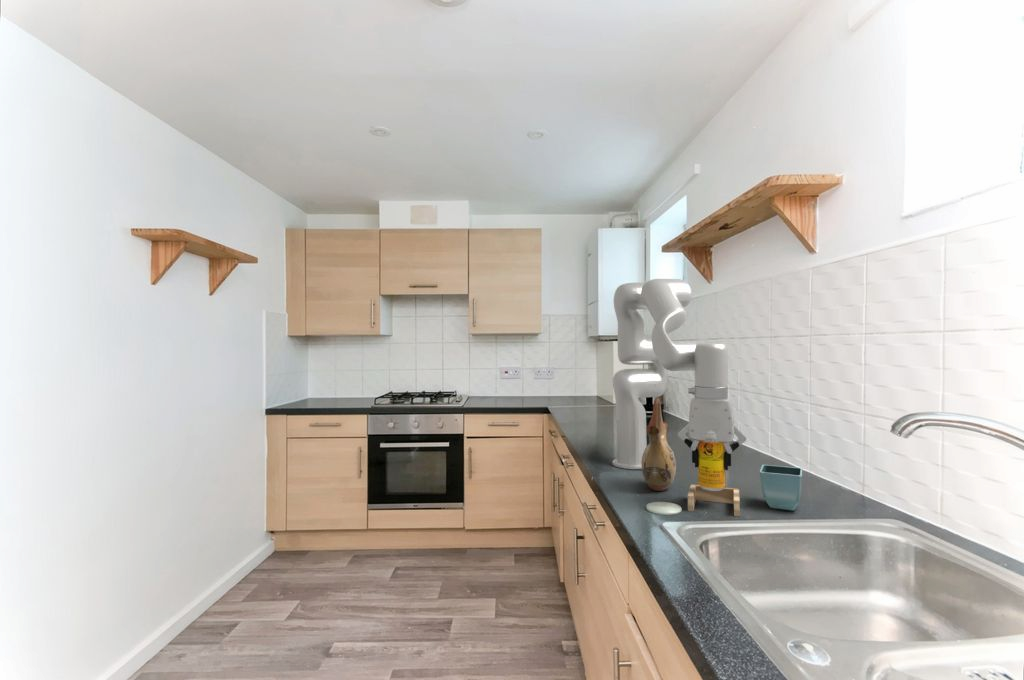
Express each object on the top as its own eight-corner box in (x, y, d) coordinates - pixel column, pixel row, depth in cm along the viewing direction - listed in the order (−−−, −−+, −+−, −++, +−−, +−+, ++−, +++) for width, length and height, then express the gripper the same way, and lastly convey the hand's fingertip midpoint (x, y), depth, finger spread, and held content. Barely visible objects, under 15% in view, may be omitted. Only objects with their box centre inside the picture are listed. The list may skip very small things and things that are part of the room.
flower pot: (763, 499, 126) (762, 463, 126) (803, 504, 121) (802, 467, 121) (760, 509, 118) (759, 471, 118) (803, 515, 113) (802, 475, 114)
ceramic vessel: (671, 499, 127) (669, 401, 127) (636, 495, 131) (634, 400, 131) (680, 482, 142) (678, 395, 142) (647, 479, 146) (646, 394, 146)
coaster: (649, 502, 124) (649, 500, 124) (682, 506, 121) (682, 503, 121) (644, 512, 117) (644, 510, 117) (679, 516, 114) (679, 514, 114)
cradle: (691, 498, 127) (690, 484, 127) (739, 502, 123) (738, 488, 123) (687, 510, 118) (687, 495, 118) (739, 516, 113) (739, 501, 113)
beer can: (696, 489, 120) (696, 427, 119) (699, 482, 125) (699, 423, 125) (723, 493, 117) (723, 429, 117) (726, 486, 122) (725, 425, 122)
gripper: (672, 394, 121) (672, 467, 121) (751, 397, 114) (751, 475, 114) (675, 390, 128) (675, 460, 128) (749, 393, 121) (750, 467, 121)
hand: (711, 466), depth 121 cm, fingers closed on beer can, 6 cm apart
